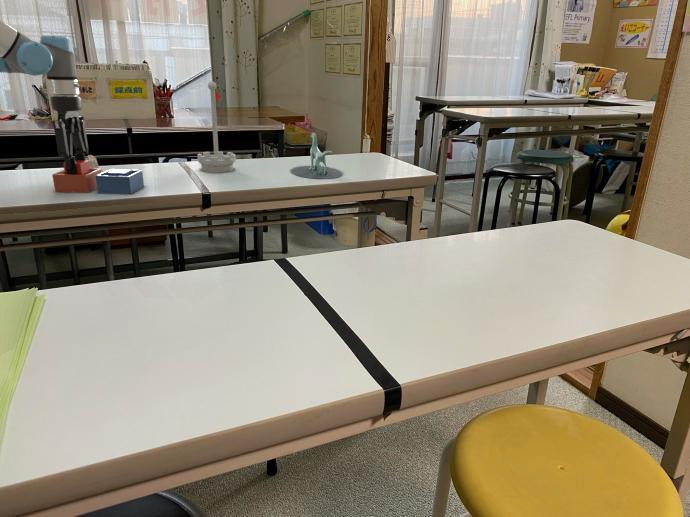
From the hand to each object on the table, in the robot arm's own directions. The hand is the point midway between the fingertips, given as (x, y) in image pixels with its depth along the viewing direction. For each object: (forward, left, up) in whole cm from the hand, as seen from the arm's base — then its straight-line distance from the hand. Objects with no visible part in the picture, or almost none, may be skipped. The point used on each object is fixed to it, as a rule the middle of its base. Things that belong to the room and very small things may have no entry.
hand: (78, 177), depth 152 cm
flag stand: (+33, +34, -3) cm, 47 cm away
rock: (-2, +14, -3) cm, 15 cm away
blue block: (+13, 0, -3) cm, 13 cm away
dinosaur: (+69, +34, -3) cm, 77 cm away
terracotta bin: (0, 0, -3) cm, 3 cm away
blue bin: (+13, 0, -3) cm, 13 cm away
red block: (0, 0, 0) cm, 0 cm away
